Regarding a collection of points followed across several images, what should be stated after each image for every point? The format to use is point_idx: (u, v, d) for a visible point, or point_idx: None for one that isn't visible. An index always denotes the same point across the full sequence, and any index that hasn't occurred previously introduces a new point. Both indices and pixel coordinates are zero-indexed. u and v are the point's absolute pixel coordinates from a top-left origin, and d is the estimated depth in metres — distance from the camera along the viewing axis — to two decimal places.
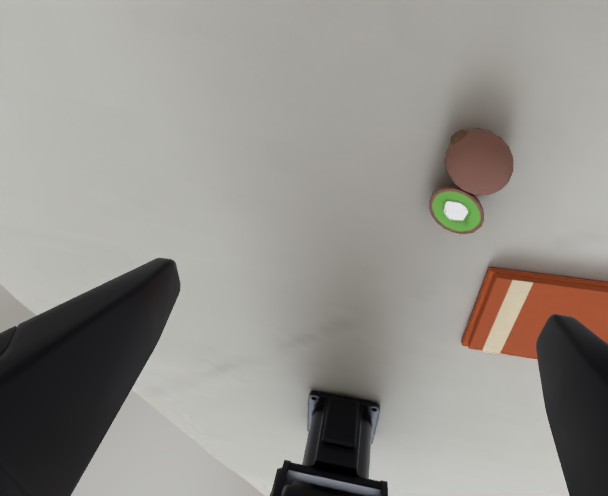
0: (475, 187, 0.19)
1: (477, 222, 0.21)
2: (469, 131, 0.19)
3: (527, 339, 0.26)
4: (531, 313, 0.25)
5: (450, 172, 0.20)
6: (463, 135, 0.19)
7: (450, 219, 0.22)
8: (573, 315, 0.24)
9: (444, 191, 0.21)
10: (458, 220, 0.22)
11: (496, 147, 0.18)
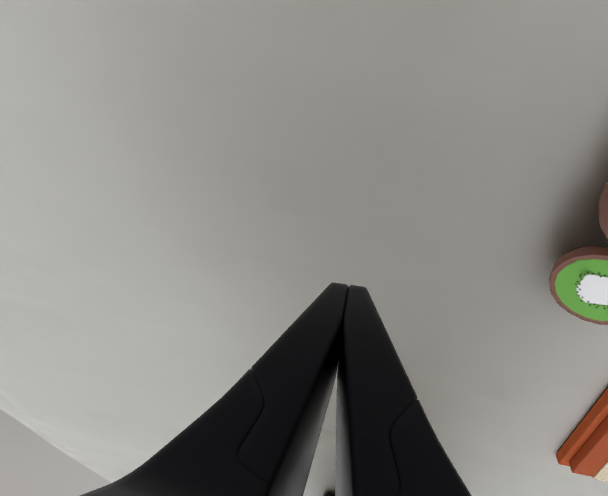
0: None
1: None
2: None
3: None
4: None
5: None
6: None
7: (586, 302, 0.13)
8: None
9: (589, 259, 0.11)
10: (601, 304, 0.12)
11: None
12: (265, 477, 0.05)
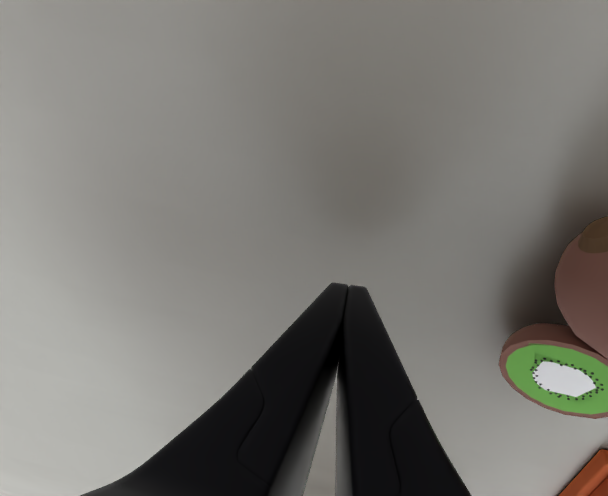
0: None
1: None
2: None
3: None
4: None
5: (573, 317, 0.08)
6: None
7: (546, 390, 0.10)
8: None
9: (544, 344, 0.09)
10: (565, 394, 0.10)
11: None
12: (265, 477, 0.05)
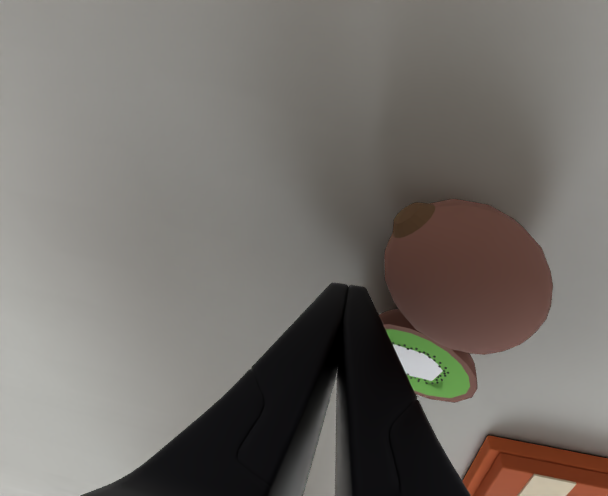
0: (455, 344, 0.08)
1: (461, 390, 0.10)
2: (438, 208, 0.07)
3: None
4: None
5: (394, 300, 0.08)
6: (422, 219, 0.07)
7: (407, 374, 0.10)
8: None
9: (388, 329, 0.09)
10: (422, 379, 0.10)
11: (510, 258, 0.07)
12: (265, 477, 0.05)
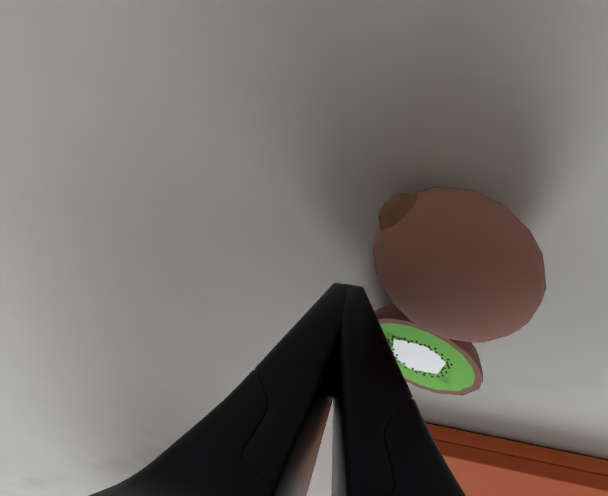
0: (449, 333, 0.08)
1: (468, 382, 0.09)
2: (420, 197, 0.07)
3: None
4: None
5: (387, 292, 0.08)
6: (405, 209, 0.07)
7: (411, 369, 0.10)
8: None
9: (386, 323, 0.09)
10: (427, 372, 0.10)
11: (494, 242, 0.07)
12: (270, 477, 0.05)
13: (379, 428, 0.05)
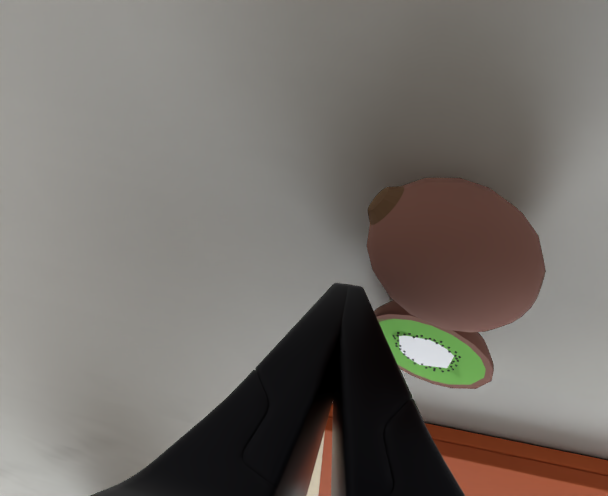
0: (450, 324, 0.07)
1: (479, 374, 0.09)
2: (407, 189, 0.07)
3: None
4: None
5: None
6: (392, 202, 0.07)
7: (421, 365, 0.10)
8: None
9: (389, 319, 0.09)
10: (437, 367, 0.10)
11: (484, 227, 0.06)
12: (271, 478, 0.05)
13: (378, 428, 0.05)
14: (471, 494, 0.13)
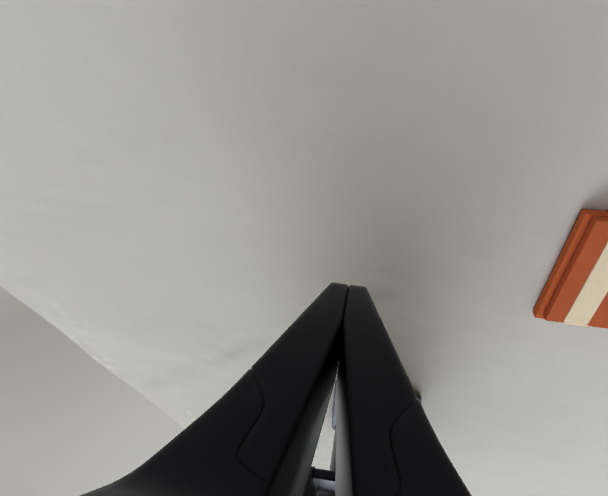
0: None
1: None
2: None
3: None
4: None
5: None
6: None
7: None
8: None
9: None
10: None
11: None
12: (265, 477, 0.05)
13: (384, 429, 0.05)
14: None
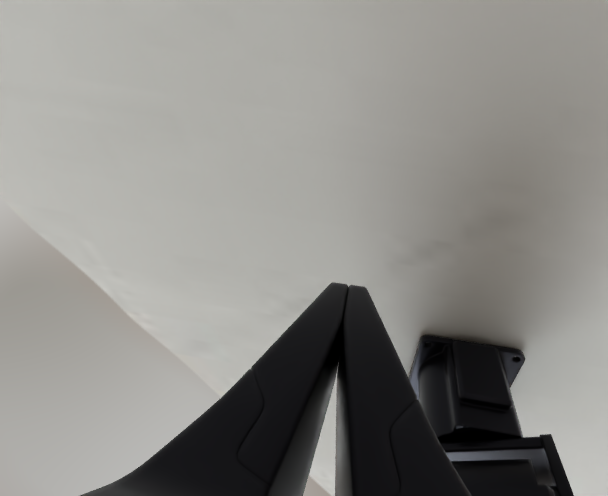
0: None
1: None
2: None
3: None
4: None
5: None
6: None
7: None
8: None
9: None
10: None
11: None
12: (265, 477, 0.05)
13: (384, 429, 0.05)
14: None
